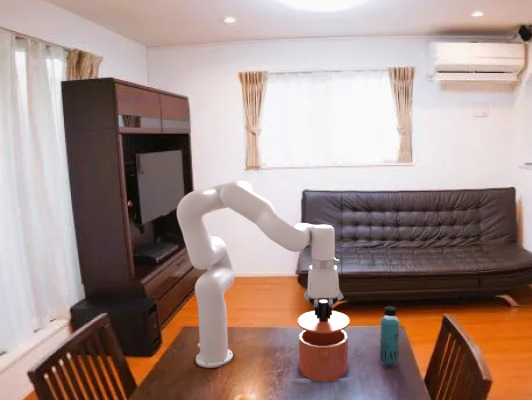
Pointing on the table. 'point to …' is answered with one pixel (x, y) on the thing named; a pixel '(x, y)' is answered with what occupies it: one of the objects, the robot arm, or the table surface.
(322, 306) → the lid
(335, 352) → the dutch oven
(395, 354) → the beverage bottle
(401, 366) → the table surface
